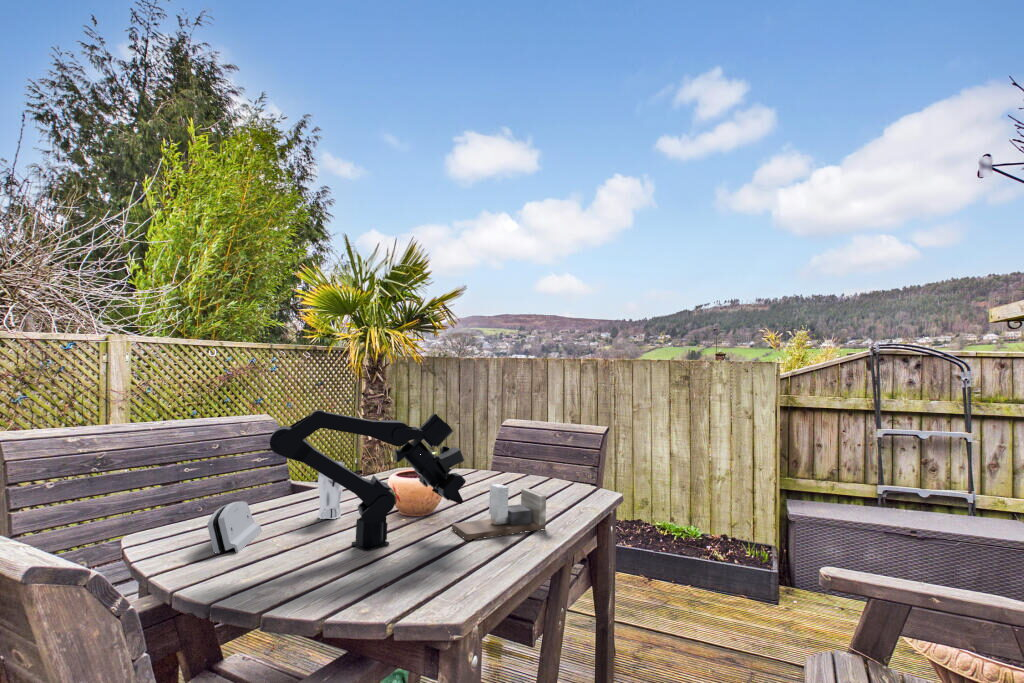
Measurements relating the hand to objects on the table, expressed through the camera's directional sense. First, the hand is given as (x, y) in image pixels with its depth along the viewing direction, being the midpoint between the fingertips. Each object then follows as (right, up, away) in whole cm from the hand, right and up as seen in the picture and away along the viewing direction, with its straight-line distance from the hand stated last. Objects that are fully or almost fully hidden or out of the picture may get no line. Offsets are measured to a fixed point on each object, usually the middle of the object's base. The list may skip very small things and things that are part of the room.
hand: (461, 502), depth 131 cm
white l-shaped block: (+12, -7, +6) cm, 16 cm away
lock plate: (+10, -9, +5) cm, 14 cm away
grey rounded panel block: (-53, -6, -11) cm, 54 cm away
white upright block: (-38, -8, +12) cm, 41 cm away
